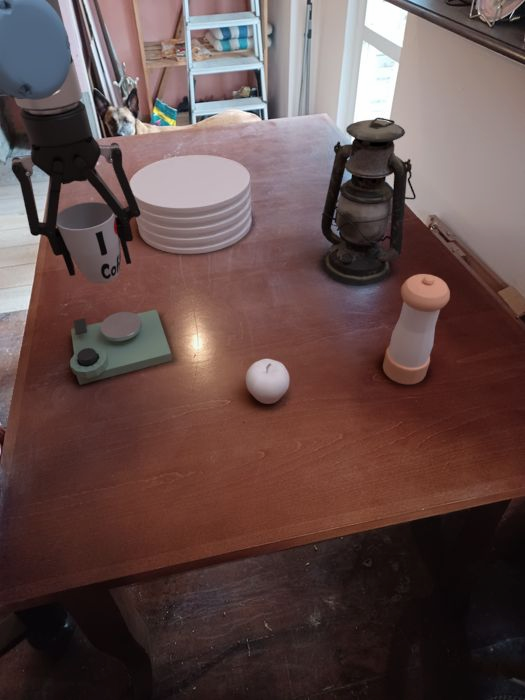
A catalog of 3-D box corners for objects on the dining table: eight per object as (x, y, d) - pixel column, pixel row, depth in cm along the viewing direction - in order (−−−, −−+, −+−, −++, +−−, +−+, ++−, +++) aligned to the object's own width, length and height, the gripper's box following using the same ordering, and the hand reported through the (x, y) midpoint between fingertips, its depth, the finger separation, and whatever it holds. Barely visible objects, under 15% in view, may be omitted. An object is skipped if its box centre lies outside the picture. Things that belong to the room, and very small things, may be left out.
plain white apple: (269, 419, 75) (269, 385, 69) (237, 395, 78) (235, 361, 73) (298, 393, 79) (300, 359, 73) (266, 372, 82) (266, 338, 77)
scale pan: (77, 351, 82) (76, 348, 81) (74, 321, 87) (72, 318, 87) (145, 335, 84) (144, 331, 84) (137, 306, 90) (136, 303, 90)
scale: (77, 389, 80) (71, 375, 78) (71, 337, 89) (65, 323, 87) (173, 364, 84) (170, 350, 81) (158, 316, 93) (155, 302, 91)
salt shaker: (388, 349, 86) (410, 258, 72) (429, 361, 83) (459, 270, 70) (377, 376, 81) (398, 285, 68) (420, 390, 79) (450, 298, 65)
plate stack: (122, 249, 111) (110, 203, 103) (159, 194, 131) (151, 152, 123) (239, 258, 108) (237, 211, 100) (259, 200, 127) (259, 157, 119)
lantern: (301, 266, 105) (308, 124, 84) (345, 230, 116) (360, 95, 95) (378, 297, 96) (407, 147, 76) (418, 255, 107) (452, 113, 86)
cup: (111, 293, 70) (93, 234, 63) (65, 283, 72) (42, 224, 65) (138, 264, 76) (125, 205, 69) (95, 255, 78) (77, 198, 71)
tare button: (80, 368, 79) (77, 362, 78) (78, 356, 81) (76, 350, 80) (98, 364, 80) (96, 357, 79) (96, 352, 82) (94, 345, 81)
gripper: (-45, 127, 52) (30, 293, 68) (142, 102, 57) (171, 263, 73) (-39, 106, 57) (29, 265, 73) (132, 85, 62) (161, 239, 78)
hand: (100, 264), depth 73 cm, fingers closed on cup, 8 cm apart
